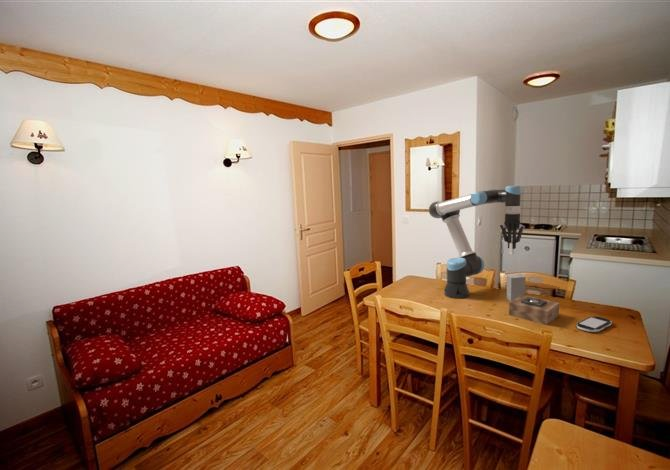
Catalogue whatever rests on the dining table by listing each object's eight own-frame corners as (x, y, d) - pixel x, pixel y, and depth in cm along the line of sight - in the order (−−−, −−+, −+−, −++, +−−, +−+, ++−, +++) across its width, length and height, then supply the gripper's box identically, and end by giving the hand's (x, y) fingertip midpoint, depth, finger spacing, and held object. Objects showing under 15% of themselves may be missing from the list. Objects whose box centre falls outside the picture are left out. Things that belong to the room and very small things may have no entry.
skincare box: (520, 298, 193) (520, 273, 191) (525, 302, 186) (526, 276, 184) (505, 298, 194) (506, 273, 191) (510, 302, 187) (511, 276, 184)
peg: (527, 314, 169) (528, 300, 168) (530, 312, 171) (531, 298, 170) (536, 317, 166) (536, 302, 165) (539, 314, 168) (539, 300, 167)
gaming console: (594, 336, 145) (594, 330, 144) (572, 328, 153) (572, 323, 152) (614, 324, 154) (615, 320, 153) (592, 318, 161) (593, 313, 161)
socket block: (508, 314, 171) (509, 300, 170) (521, 306, 180) (522, 293, 179) (547, 325, 157) (547, 309, 156) (558, 315, 166) (559, 301, 165)
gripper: (497, 213, 182) (497, 253, 186) (522, 214, 172) (520, 256, 175) (503, 212, 186) (503, 251, 190) (527, 212, 176) (526, 254, 180)
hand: (511, 254), depth 183 cm, fingers closed
